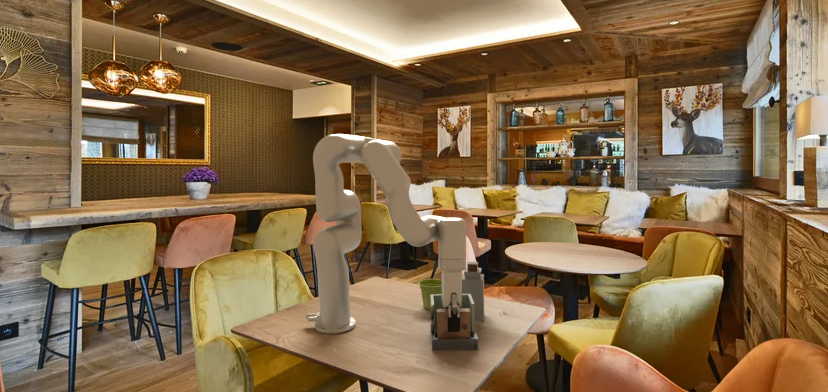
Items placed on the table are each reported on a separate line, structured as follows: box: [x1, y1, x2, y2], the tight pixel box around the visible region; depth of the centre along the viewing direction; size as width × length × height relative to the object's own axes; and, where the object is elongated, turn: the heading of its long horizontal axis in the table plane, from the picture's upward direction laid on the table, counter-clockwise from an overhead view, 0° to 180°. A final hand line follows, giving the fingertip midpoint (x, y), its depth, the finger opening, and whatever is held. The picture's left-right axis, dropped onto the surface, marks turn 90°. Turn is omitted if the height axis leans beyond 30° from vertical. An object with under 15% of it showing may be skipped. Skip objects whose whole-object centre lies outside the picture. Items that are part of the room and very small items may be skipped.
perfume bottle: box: [462, 261, 485, 323], centre depth 134 cm, size 7×7×18 cm
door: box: [437, 308, 471, 338], centre depth 114 cm, size 9×3×10 cm, turn 90°
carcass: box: [431, 294, 476, 333], centre depth 120 cm, size 12×9×11 cm
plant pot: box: [418, 278, 442, 310], centre depth 145 cm, size 9×9×9 cm
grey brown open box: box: [429, 306, 479, 352], centre depth 114 cm, size 13×6×11 cm, turn 89°
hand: (452, 324), depth 114 cm, fingers open, 9 cm apart
